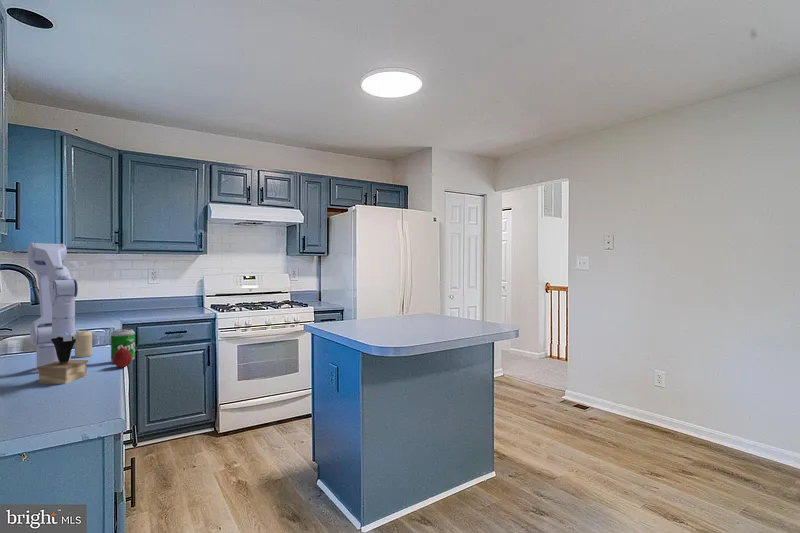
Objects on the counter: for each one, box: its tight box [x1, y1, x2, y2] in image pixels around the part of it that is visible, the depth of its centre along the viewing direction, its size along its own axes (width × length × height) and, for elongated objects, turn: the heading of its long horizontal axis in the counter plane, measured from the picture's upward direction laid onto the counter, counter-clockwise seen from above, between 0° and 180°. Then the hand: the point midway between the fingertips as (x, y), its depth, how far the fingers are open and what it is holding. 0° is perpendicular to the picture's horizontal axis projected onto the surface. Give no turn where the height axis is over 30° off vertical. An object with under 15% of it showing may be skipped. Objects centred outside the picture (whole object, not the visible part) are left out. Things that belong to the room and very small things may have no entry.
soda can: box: [110, 328, 136, 363], centre depth 162 cm, size 8×8×12 cm
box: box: [38, 363, 87, 385], centre depth 136 cm, size 9×8×5 cm
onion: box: [112, 346, 133, 369], centre depth 152 cm, size 6×6×8 cm
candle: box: [74, 330, 93, 358], centre depth 171 cm, size 6×6×10 cm
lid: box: [36, 359, 89, 370], centre depth 136 cm, size 10×9×5 cm
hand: (63, 361), depth 136 cm, fingers closed on lid, 2 cm apart
